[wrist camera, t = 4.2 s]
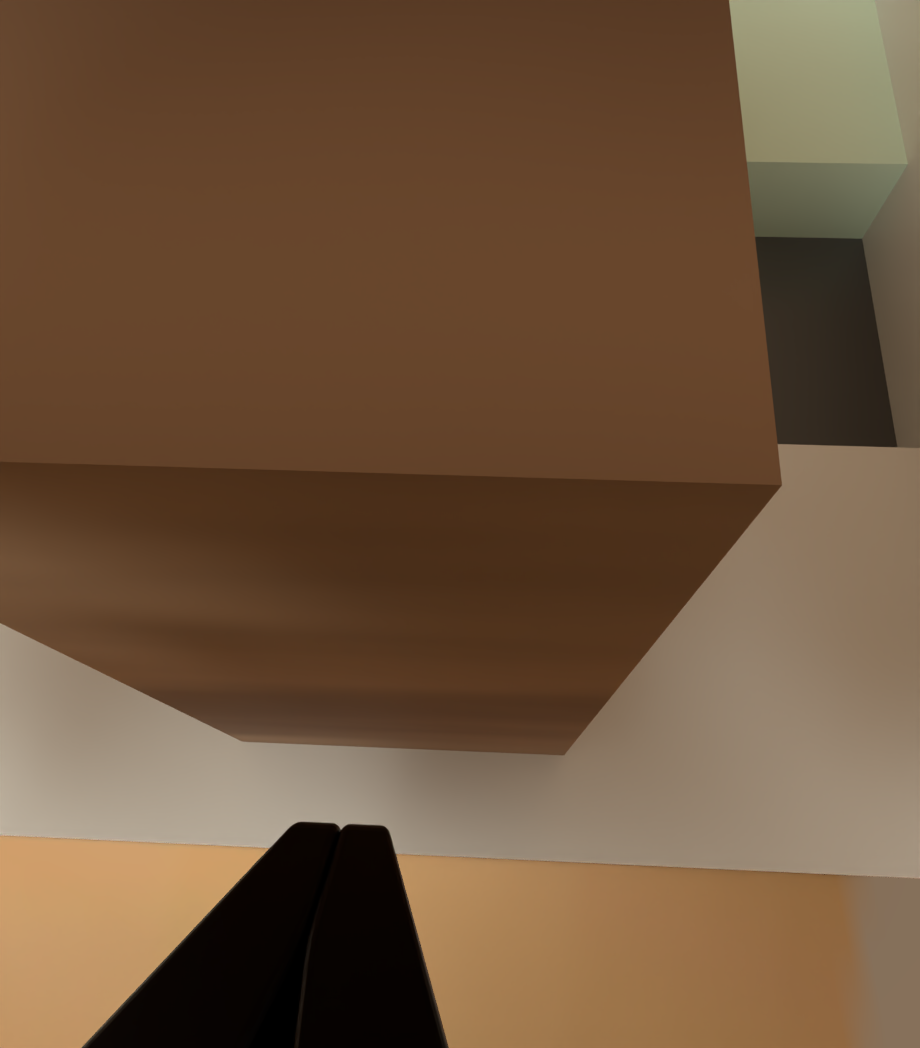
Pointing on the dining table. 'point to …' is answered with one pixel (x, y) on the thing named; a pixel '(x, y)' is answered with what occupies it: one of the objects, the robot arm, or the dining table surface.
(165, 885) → the dining table surface
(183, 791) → the trap box
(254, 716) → the block
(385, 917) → the robot arm
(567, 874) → the dining table surface
